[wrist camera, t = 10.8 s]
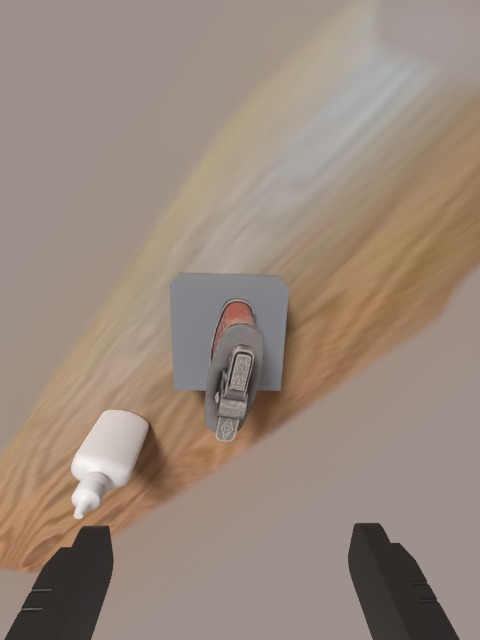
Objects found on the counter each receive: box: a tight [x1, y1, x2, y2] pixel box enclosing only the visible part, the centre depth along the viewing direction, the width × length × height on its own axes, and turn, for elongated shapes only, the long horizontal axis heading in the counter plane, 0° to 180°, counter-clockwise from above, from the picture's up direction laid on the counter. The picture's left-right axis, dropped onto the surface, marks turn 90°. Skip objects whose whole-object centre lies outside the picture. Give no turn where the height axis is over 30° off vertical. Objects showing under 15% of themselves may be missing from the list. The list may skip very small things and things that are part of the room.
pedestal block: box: [170, 273, 289, 391], centre depth 30 cm, size 10×10×6 cm
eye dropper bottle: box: [71, 410, 149, 519], centre depth 30 cm, size 4×6×12 cm
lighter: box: [205, 297, 263, 442], centre depth 22 cm, size 8×3×10 cm, turn 168°
